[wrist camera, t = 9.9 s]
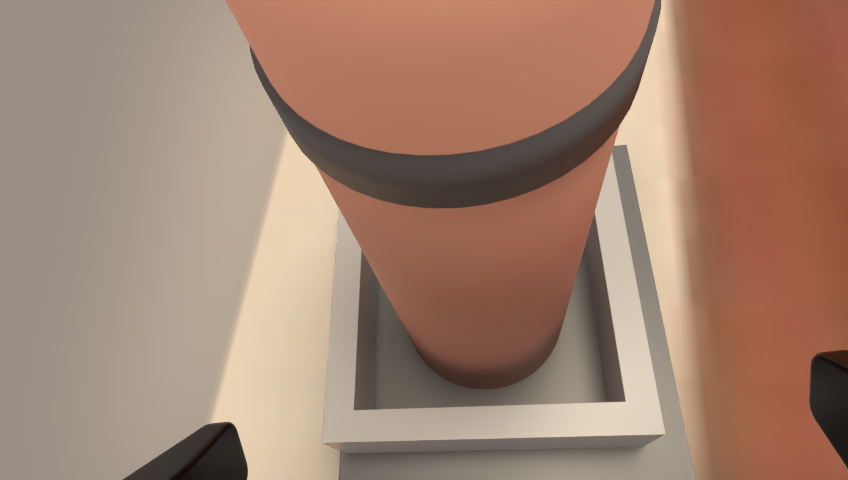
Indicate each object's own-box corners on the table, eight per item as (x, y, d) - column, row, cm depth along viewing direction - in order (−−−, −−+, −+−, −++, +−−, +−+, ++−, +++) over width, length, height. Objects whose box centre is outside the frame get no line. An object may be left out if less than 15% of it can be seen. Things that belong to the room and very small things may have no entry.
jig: (747, 799, 13) (821, 884, 10) (332, 779, 14) (283, 849, 11) (621, 160, 21) (640, 98, 18) (362, 181, 22) (339, 126, 19)
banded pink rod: (574, 390, 17) (765, 28, 4) (403, 395, 17) (143, 90, 5) (556, 234, 19) (647, -292, 7) (405, 243, 20) (230, -223, 7)
